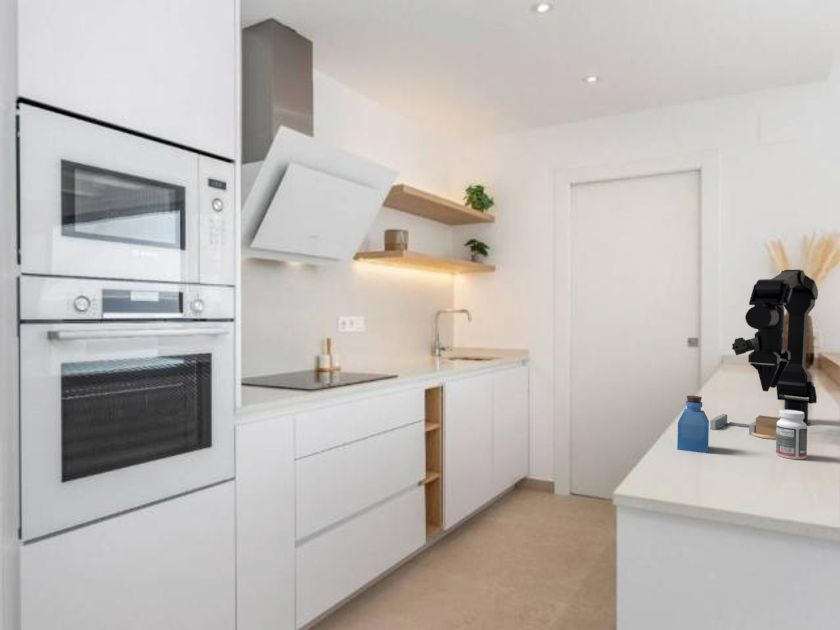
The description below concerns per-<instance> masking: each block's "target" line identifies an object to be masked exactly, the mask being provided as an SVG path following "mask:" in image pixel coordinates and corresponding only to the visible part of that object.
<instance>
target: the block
mask: <svg viewBox="0 0 840 630" xmlns="http://www.w3.org/2000/svg"><path fill="white" fill-rule="evenodd" d="M780 418H781V417H777V416H767V415H758V416H757V417H755V421H756V434H762V435H769V436H776V425H777V421H779V420H780Z"/></svg>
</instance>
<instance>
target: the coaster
mask: <svg viewBox="0 0 840 630" xmlns="http://www.w3.org/2000/svg"><path fill="white" fill-rule="evenodd" d="M750 436H753V437H756V438H761V439H766V440H775V441H776V436H769V435H762V434H756V432H755V433H751V435H750Z"/></svg>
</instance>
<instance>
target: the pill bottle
mask: <svg viewBox="0 0 840 630" xmlns="http://www.w3.org/2000/svg"><path fill="white" fill-rule="evenodd" d="M778 416H779V418H780V420H779V421H777V425H776V440H775V454H776V455H777V456H778V457H779V458H784V459H790V460H805V459H806V458H807V456H808V455H807V454H808V449H807V448H808V425H806V423H804V422H803V419H804V412H801V411H795V410H784V409H780V410H779V411H778Z"/></svg>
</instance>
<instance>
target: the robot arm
mask: <svg viewBox="0 0 840 630" xmlns="http://www.w3.org/2000/svg"><path fill="white" fill-rule="evenodd" d="M818 290H819V289H818V286H817V284H816V282H815V280H814V279H813V278H811V277H809V276H808V275H806V274H805V271H804V270H803V269H784V270H782V271H781V272H780V273H779V274H778V275H776V276H774V277H772V278H764V279H758V280H757V281H756V283H755V284H754V285H753V287H752V292H751V295H750V299H749V302H748V305H749V306H752V307H751V308H749V309H748V310H747V312H746V313H745V317H744V318H745V322H746V324H747V325H748V326H749V327H750V328H752V329H753V330H754V329H755V330H757V331H756V332H754V336H753V338H752V337H751V338H750V339H744V337H742V336H741V337H737V338H735V339H734V343H731V345H732V347H731V348H732V350H733V351H734V353H735V356H740V355H743V354H746V353H748V352H750V353H749V354H748V355H747V356H748V360H747V361H748V363H749V365H751V367H753V368H754V369H755V370H757V373H758V376H759V381H760V385H761V390H762V391H763V392H768V391H769V390H770V388H772V389H774V388H776V397H777V398H776V399H777V400H778V401H784V404H783V405H784V407H783V408H784V409H783V410H795V411H801V412H804V419H803V422H804V423H806V425H807V426H808V425H810V424H811V422H812V421H811V420H809V404H817V402H818V400H817V399H818V397H817V391H816V390H817V389H816V387H815V385H814V382H813V380H812V375H811V373H810V371H809V370H808V368H807V367H806V360H807V359H806V357H807V337H808V334H807V332H808V316H809V314H810V313H811V312H812V310H813V308H815V306H816V300H818V297H819V291H818ZM785 311H786V312H787V313H788V322H787V343H786V344H787V346H786V347H787V348H784V346H785V345H784V342H785V341H784V340H785V337H786V332H785Z"/></svg>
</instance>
